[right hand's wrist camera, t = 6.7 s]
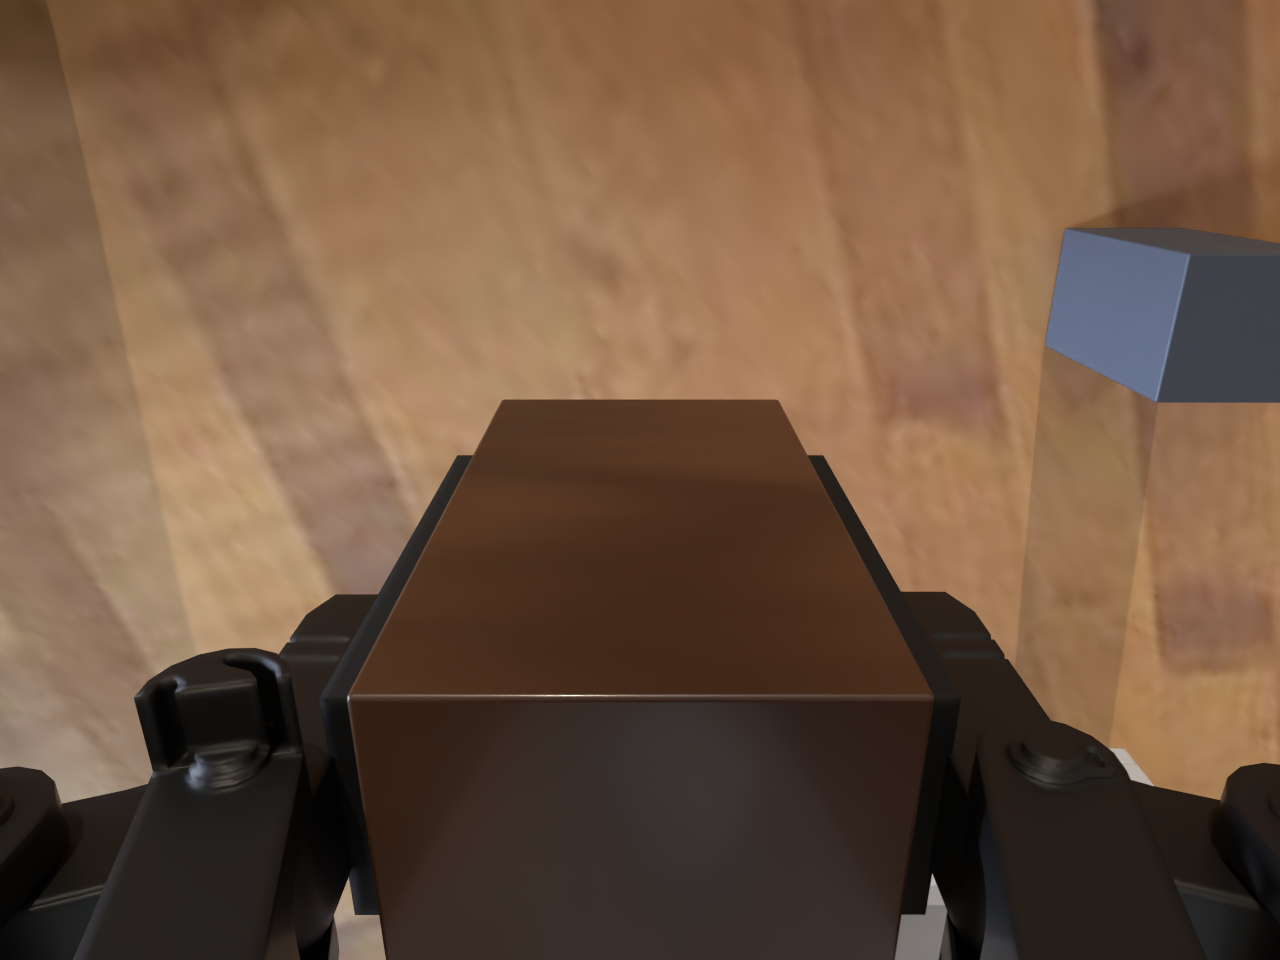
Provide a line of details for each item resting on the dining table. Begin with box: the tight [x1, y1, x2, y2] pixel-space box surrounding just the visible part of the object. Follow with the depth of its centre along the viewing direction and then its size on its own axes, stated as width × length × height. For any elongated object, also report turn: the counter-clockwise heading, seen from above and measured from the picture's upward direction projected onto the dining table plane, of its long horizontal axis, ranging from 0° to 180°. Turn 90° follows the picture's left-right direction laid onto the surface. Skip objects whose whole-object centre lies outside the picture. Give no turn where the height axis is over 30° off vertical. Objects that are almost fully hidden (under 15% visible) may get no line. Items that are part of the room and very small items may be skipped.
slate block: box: [1045, 228, 1280, 403], centre depth 30 cm, size 4×4×8 cm
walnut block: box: [347, 400, 934, 960], centre depth 11 cm, size 4×4×8 cm
